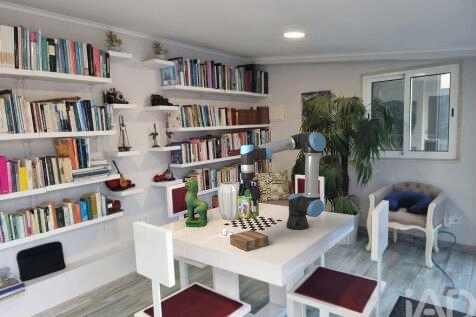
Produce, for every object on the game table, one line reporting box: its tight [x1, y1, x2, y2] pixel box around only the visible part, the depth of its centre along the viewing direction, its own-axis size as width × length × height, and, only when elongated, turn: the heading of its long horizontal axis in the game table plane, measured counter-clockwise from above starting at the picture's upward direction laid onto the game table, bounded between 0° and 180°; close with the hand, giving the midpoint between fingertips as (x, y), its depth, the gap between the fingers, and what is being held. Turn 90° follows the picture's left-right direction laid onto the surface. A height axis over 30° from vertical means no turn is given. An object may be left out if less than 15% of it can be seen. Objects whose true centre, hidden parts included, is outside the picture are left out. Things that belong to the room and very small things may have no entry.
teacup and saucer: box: [218, 228, 233, 238], centre depth 215 cm, size 9×8×4 cm
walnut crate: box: [229, 229, 270, 253], centre depth 196 cm, size 16×16×6 cm
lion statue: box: [184, 176, 209, 228], centre depth 240 cm, size 14×17×35 cm
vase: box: [217, 181, 241, 221], centre depth 256 cm, size 20×20×28 cm
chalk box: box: [238, 190, 260, 220], centre depth 194 cm, size 9×9×15 cm
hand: (248, 209), depth 194 cm, fingers closed on chalk box, 10 cm apart
